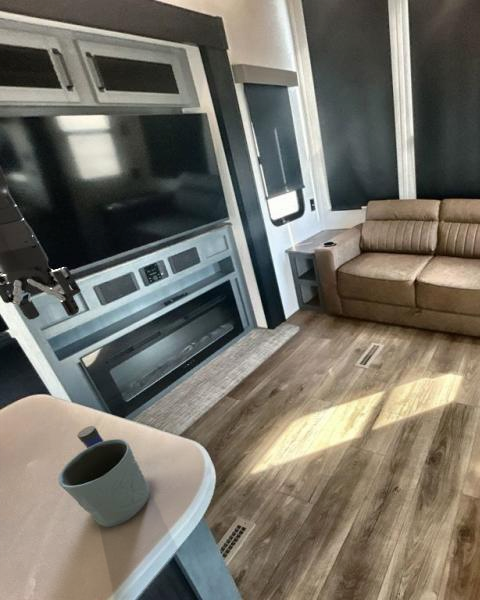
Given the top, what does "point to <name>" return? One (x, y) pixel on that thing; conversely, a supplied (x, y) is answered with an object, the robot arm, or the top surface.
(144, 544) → the top surface
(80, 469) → the grey-green cup
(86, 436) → the marker
